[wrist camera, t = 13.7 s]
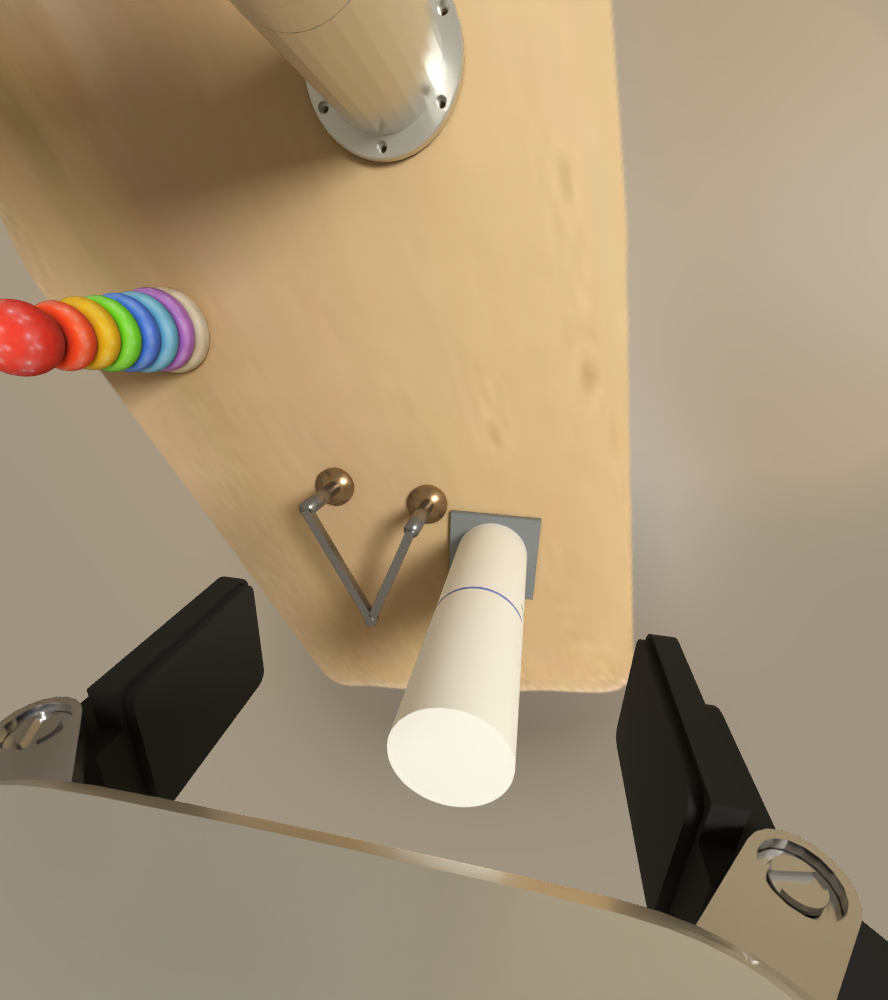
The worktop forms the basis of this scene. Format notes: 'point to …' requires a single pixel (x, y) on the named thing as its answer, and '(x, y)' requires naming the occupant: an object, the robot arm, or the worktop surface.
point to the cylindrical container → (467, 678)
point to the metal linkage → (424, 508)
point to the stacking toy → (104, 333)
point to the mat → (520, 525)
